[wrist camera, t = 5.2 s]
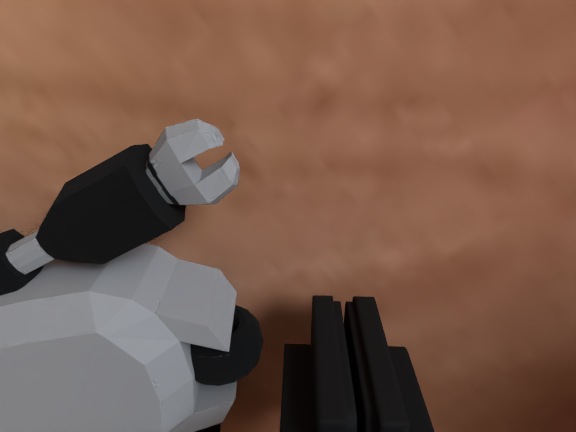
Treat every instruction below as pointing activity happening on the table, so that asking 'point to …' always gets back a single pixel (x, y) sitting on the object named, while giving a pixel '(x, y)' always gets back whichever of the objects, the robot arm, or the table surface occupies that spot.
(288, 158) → the table surface
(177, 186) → the robot toy
